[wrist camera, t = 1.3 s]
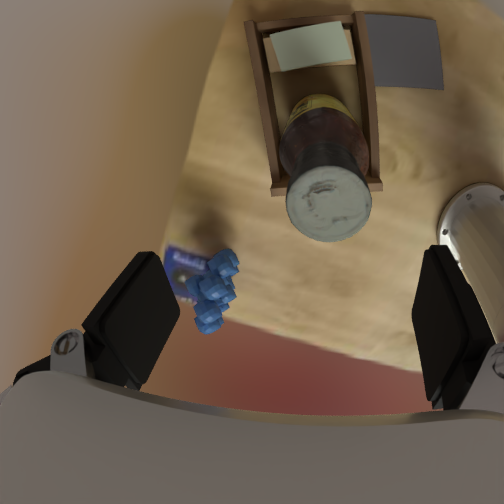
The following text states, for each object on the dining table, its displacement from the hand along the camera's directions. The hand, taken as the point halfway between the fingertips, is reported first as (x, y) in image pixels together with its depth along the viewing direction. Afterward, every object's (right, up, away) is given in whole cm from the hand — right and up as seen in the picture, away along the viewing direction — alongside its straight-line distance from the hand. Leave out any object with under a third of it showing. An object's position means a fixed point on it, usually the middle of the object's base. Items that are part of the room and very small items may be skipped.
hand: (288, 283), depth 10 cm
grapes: (-5, 0, +32) cm, 32 cm away
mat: (+14, +21, +12) cm, 28 cm away
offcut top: (+4, +19, +12) cm, 23 cm away
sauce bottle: (+6, +15, +19) cm, 25 cm away
